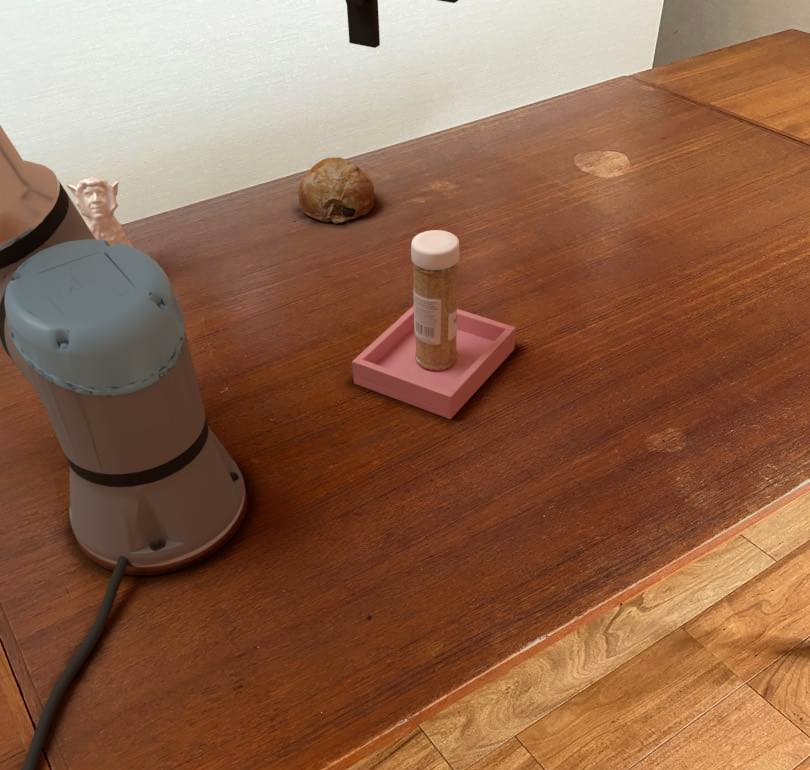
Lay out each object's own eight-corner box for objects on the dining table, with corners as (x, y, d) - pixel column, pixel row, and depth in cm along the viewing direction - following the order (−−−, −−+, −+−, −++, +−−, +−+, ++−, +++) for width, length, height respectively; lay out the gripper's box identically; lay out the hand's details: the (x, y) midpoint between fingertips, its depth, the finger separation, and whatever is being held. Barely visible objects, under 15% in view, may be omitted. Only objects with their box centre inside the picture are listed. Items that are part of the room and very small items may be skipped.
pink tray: (450, 419, 85) (450, 397, 83) (353, 383, 90) (351, 361, 88) (514, 349, 93) (516, 327, 91) (422, 319, 97) (421, 297, 95)
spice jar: (466, 362, 90) (469, 242, 80) (430, 377, 89) (429, 257, 79) (440, 341, 93) (441, 223, 83) (405, 356, 91) (401, 237, 81)
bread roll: (311, 250, 115) (314, 209, 108) (285, 189, 118) (286, 145, 111) (380, 233, 118) (387, 192, 110) (353, 174, 121) (358, 130, 113)
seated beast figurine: (80, 303, 102) (46, 205, 93) (72, 268, 107) (39, 173, 98) (161, 286, 104) (135, 188, 95) (148, 252, 109) (122, 157, 100)
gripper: (440, -316, 72) (440, -21, 88) (250, -287, 58) (290, 57, 74) (521, -316, 69) (506, -11, 85) (342, -285, 55) (363, 72, 71)
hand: (406, 21), depth 79 cm, fingers open, 13 cm apart
